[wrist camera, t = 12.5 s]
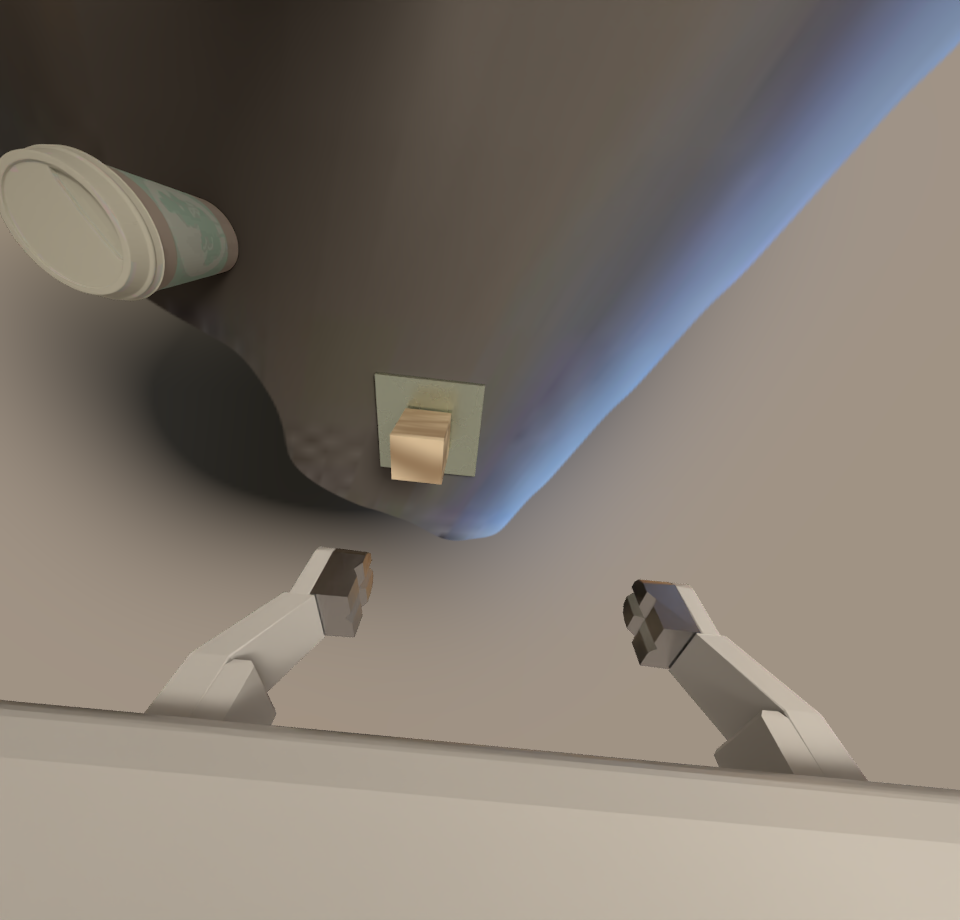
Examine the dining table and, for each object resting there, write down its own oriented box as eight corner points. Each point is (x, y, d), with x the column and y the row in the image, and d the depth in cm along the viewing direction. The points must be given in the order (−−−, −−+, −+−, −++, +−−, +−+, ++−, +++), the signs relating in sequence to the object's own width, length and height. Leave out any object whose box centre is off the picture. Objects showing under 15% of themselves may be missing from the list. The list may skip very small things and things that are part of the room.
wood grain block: (405, 408, 38) (389, 435, 32) (451, 413, 38) (443, 441, 33) (406, 447, 41) (391, 479, 35) (448, 452, 41) (441, 484, 35)
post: (376, 372, 37) (353, 395, 31) (484, 384, 37) (482, 409, 31) (381, 463, 43) (363, 497, 37) (474, 473, 44) (471, 509, 38)
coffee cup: (260, 297, 34) (156, 317, 23) (170, 277, 33) (24, 288, 23) (246, 190, 29) (111, 157, 19) (142, 164, 29) (-55, 116, 18)
